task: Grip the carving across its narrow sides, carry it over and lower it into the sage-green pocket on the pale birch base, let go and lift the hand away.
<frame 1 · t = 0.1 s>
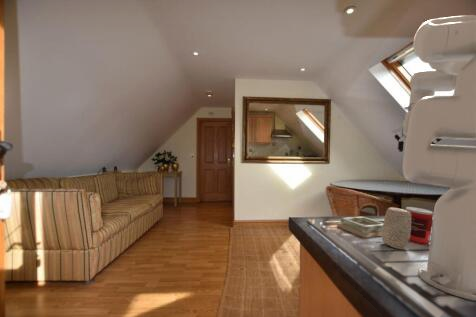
hand: (415, 152, 94), 31 cm above the worktop, tool pointing down, fingers open, 9 cm apart
canned food: (415, 241, 83), on the worktop
carving: (394, 247, 76), on the worktop
pocket rail: (363, 230, 90), on the worktop
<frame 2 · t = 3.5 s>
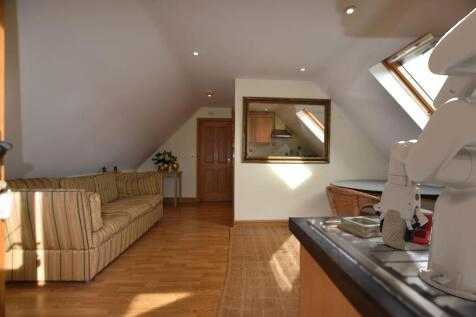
hand: (395, 236, 76), 3 cm above the worktop, tool pointing down, fingers closed on carving, 7 cm apart
carving: (394, 247, 76), on the worktop, touching gripper
everything else where it was.
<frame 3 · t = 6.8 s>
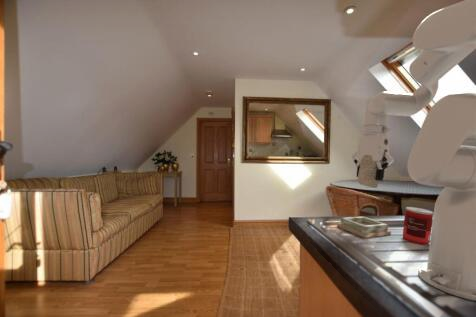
hand: (369, 178, 89), 20 cm above the worktop, tool pointing down, fingers closed on carving, 7 cm apart
carving: (368, 187, 89), point 16 cm above the worktop, touching gripper
everything else where it was.
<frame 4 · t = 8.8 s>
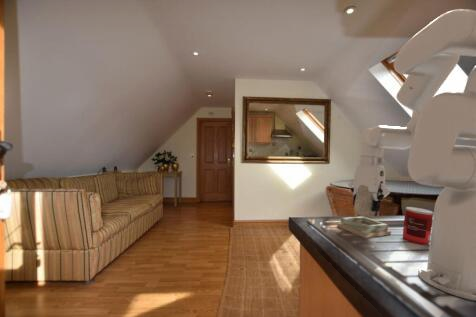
hand: (365, 207, 90), 9 cm above the worktop, tool pointing down, fingers closed on carving, 7 cm apart
carving: (364, 216, 90), point 5 cm above the worktop, touching gripper
everything else where it was.
when the fingers open (6 cm above the worktop, at t = 10.0 s): carving drops 1 cm, resting on pocket rail.
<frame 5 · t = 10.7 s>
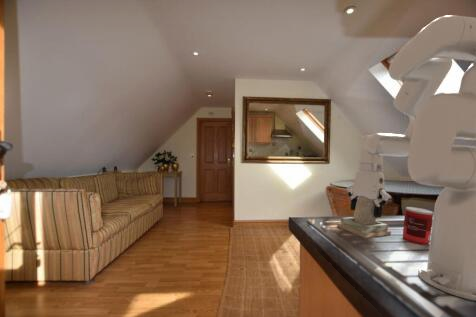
hand: (365, 213, 90), 7 cm above the worktop, tool pointing down, fingers open, 9 cm apart
carving: (363, 227, 90), point 1 cm above the worktop, touching pocket rail
everything else where it was.
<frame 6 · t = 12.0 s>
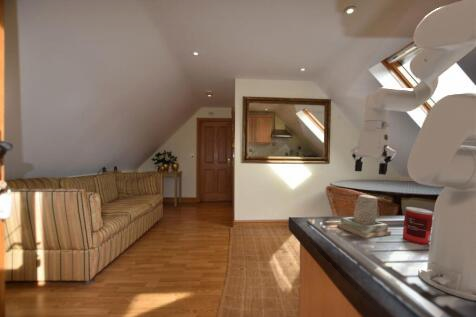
hand: (369, 172, 89), 22 cm above the worktop, tool pointing down, fingers open, 9 cm apart
nothing on the worktop moved.
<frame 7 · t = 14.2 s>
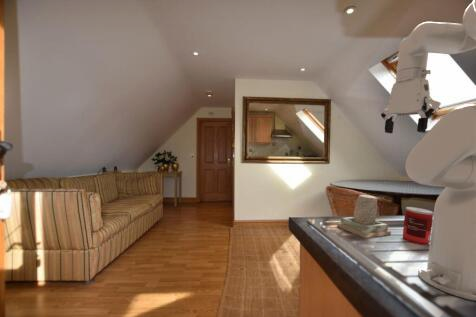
hand: (404, 132, 75), 36 cm above the worktop, tool pointing down, fingers open, 9 cm apart
nothing on the worktop moved.
at the end: carving 0.2 cm off-centre on the pocket rail, point 1.0 cm above the pocket rail's base; carving tilted 0°; the gripper is holding nothing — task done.
